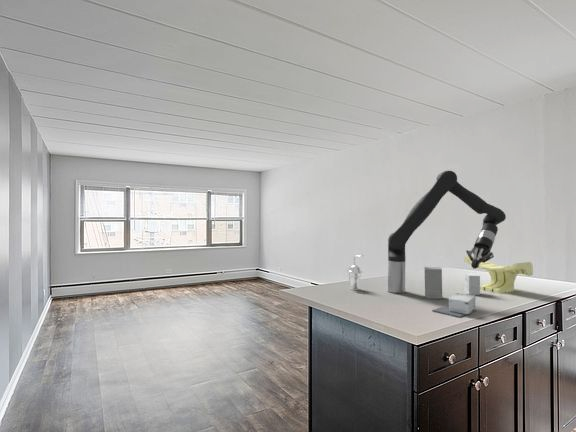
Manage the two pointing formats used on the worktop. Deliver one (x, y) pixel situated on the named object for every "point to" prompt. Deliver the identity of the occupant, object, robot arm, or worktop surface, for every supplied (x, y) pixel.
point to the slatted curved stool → (503, 275)
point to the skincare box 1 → (433, 282)
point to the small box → (472, 284)
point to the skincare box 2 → (462, 303)
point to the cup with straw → (354, 275)
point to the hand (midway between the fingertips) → (474, 267)
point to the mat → (446, 311)
